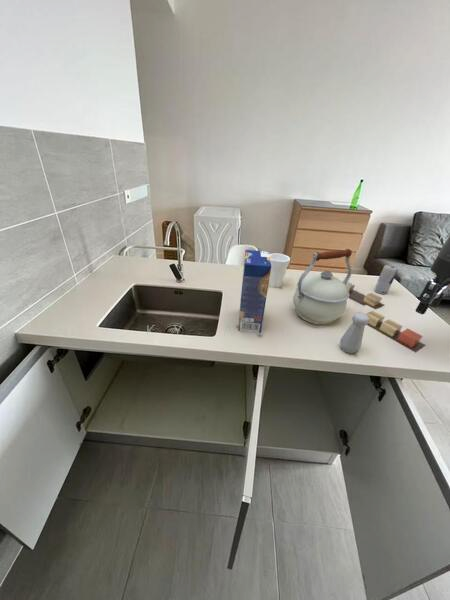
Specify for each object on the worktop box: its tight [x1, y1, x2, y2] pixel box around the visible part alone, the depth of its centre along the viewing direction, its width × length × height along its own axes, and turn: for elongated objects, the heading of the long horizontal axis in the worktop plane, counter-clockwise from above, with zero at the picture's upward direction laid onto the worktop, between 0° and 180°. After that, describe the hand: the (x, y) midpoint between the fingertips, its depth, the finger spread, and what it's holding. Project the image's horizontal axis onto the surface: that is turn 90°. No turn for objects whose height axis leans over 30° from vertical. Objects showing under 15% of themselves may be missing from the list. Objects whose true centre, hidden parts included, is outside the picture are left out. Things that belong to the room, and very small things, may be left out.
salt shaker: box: [339, 311, 369, 355], centre depth 72 cm, size 6×6×13 cm
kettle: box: [292, 248, 354, 325], centre depth 86 cm, size 25×18×25 cm
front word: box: [365, 310, 427, 353], centre depth 83 cm, size 7×20×4 cm, turn 32°
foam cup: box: [268, 252, 291, 288], centre depth 108 cm, size 10×9×13 cm
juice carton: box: [237, 249, 271, 334], centre depth 79 cm, size 12×8×24 cm, turn 175°
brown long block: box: [345, 281, 386, 311], centre depth 103 cm, size 7×20×4 cm, turn 32°
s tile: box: [397, 328, 423, 348], centre depth 78 cm, size 4×4×3 cm
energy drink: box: [374, 264, 399, 295], centre depth 107 cm, size 5×5×12 cm
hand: (426, 309), depth 72 cm, fingers open, 8 cm apart
